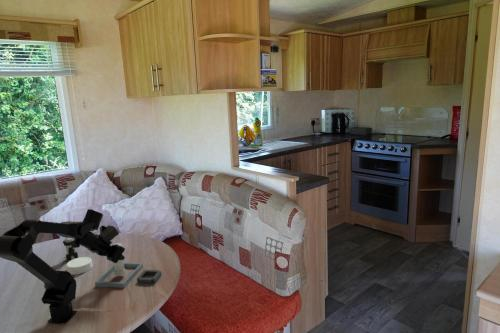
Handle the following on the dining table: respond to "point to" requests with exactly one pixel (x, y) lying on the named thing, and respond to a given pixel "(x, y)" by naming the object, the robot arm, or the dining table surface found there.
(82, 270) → the white round disc
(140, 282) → the grey piece
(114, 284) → the parts tray
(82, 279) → the dining table surface
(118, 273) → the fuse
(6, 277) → the dining table surface
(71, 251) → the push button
